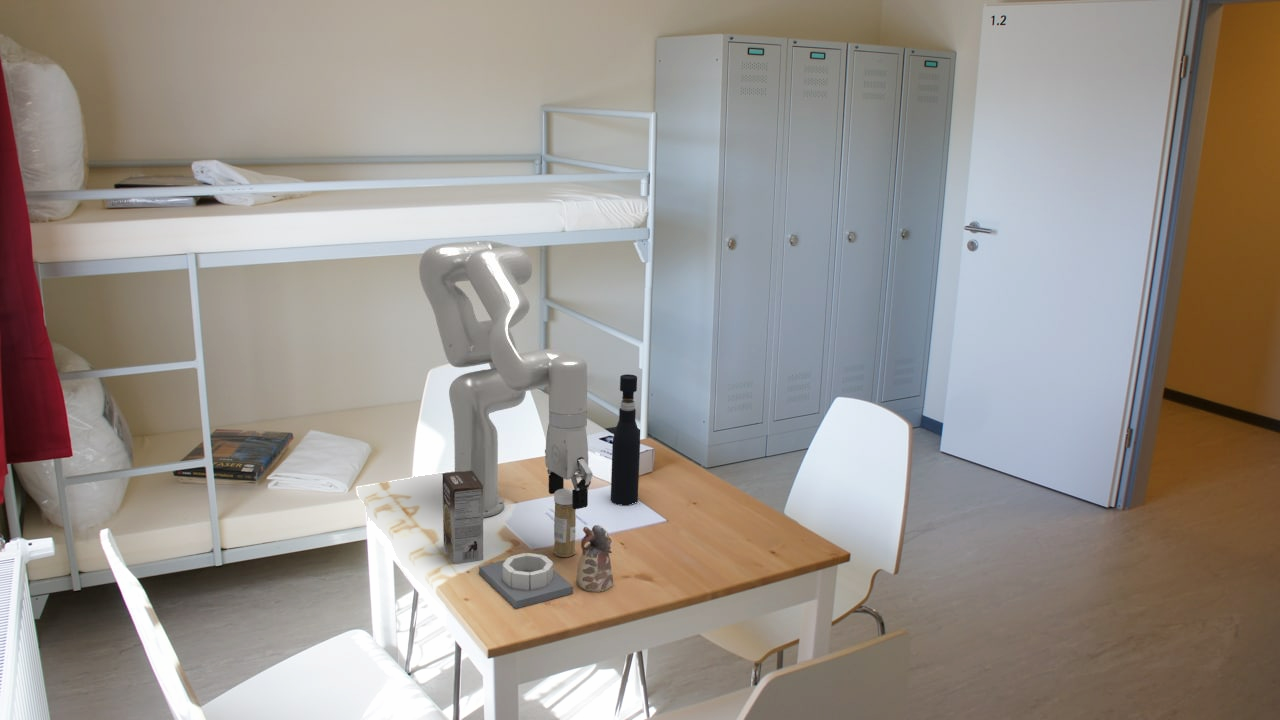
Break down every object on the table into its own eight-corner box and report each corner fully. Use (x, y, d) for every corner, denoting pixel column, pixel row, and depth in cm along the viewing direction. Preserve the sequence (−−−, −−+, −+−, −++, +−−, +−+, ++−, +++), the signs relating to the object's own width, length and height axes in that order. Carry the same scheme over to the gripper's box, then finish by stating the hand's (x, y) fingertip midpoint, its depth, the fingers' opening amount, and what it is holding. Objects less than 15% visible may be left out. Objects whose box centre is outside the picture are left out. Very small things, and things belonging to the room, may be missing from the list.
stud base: (479, 573, 196) (479, 552, 195) (533, 560, 202) (534, 539, 201) (515, 608, 183) (516, 586, 182) (573, 593, 189) (573, 571, 188)
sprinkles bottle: (579, 555, 205) (581, 493, 202) (559, 559, 203) (561, 497, 200) (568, 546, 209) (569, 486, 206) (549, 551, 207) (550, 490, 203)
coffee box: (442, 546, 207) (441, 472, 203) (472, 541, 210) (472, 469, 206) (452, 564, 199) (451, 488, 195) (484, 560, 202) (484, 485, 197)
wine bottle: (617, 507, 230) (622, 381, 223) (605, 497, 236) (609, 374, 228) (642, 503, 233) (647, 378, 226) (630, 493, 239) (634, 371, 231)
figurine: (616, 591, 191) (618, 532, 188) (579, 593, 190) (581, 534, 187) (609, 574, 198) (611, 517, 195) (574, 576, 196) (575, 519, 193)
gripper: (530, 410, 204) (531, 490, 208) (573, 432, 190) (572, 517, 193) (563, 405, 208) (563, 483, 212) (606, 427, 194) (606, 510, 198)
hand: (567, 500), depth 203 cm, fingers open, 9 cm apart
